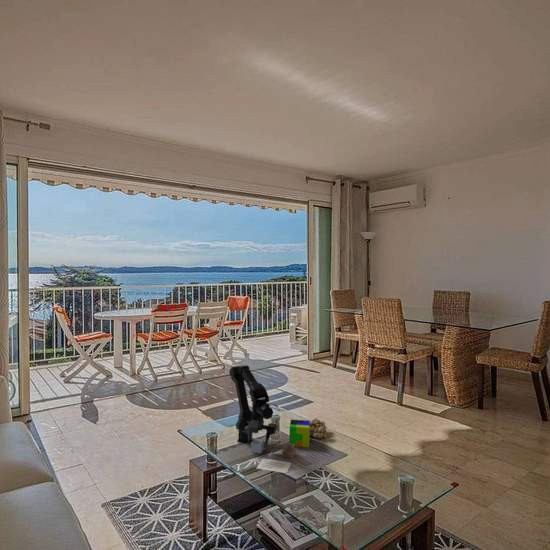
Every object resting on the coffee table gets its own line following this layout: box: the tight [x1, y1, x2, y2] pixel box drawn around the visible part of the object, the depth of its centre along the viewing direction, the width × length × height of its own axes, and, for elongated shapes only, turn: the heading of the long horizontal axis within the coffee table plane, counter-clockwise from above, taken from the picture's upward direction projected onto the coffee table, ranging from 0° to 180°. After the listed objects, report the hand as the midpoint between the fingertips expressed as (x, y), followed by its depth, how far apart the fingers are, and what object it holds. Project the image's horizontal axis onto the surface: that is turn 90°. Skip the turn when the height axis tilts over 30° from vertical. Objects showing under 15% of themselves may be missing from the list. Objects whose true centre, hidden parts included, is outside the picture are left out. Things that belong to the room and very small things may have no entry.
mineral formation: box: [309, 417, 328, 439], centre depth 221 cm, size 8×13×15 cm
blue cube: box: [250, 438, 265, 454], centre depth 200 cm, size 5×5×5 cm
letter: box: [256, 458, 292, 474], centre depth 185 cm, size 14×10×1 cm
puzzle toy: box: [289, 419, 310, 448], centre depth 211 cm, size 10×10×10 cm
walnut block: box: [281, 442, 296, 459], centre depth 196 cm, size 5×5×5 cm
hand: (257, 443), depth 200 cm, fingers open, 9 cm apart
